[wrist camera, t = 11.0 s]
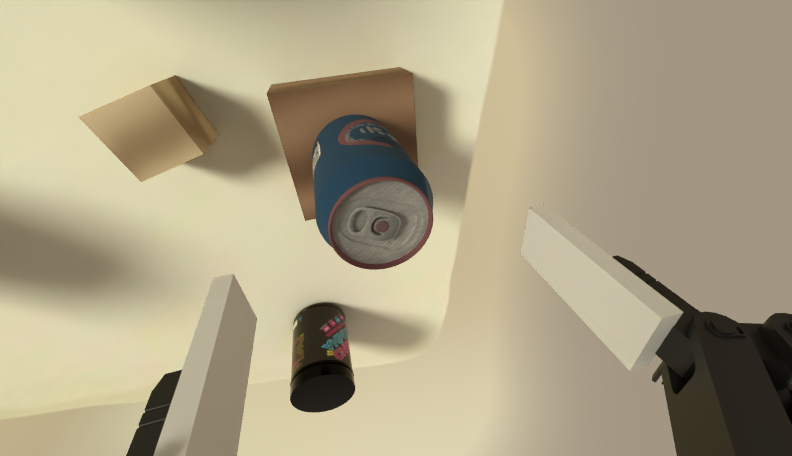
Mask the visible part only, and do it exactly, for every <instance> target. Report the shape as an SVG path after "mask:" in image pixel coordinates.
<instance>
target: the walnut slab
mask: <svg viewBox="0 0 792 456" xmlns="http://www.w3.org/2000/svg"><path fill="white" fill-rule="evenodd" d="M267 96H268V100H269V103H270V106H271V110H272V113H273V116H274V119H275V123H276V126H277V129H278V133H279V136H280V139H281V142H282V146H283V149H284V152H285V156H286V159H287V162H288V165H289V169H290V172H291V175H292V179H293V182H294V185H295V188H296V192H297V195H298V198H299V202H300V205H301V208H302V211H303V215H304V218H305V221H306V220H311V219H316V214H315V198H314V182H313V166H312V150H313V146H314V143H315V140H316V138H317V136H318V135H319V133H320V132H321V130H322V129H323V128H324V127H325V126H326V125H327V124H329V123H330V122H332V121H333V120H335V119H337V118H339V117H342V116H346V115H353V114H358V115H365V116H369V117H372V118H374V119H376V120H378V121H379V122H381V123H382V124H383V125H385V126H386V127H387V128H388V130H389V131H390V132H391V133H392V135H393V136H394V137H395V139H396V140H397V141H398V142H399V144H400V145H401V146H402V148H403V149H404V150H405V151H406V153H407V154H408V155H409V156H410V158H411V159H412V160H413V162H414V163H415V164H416V165H417V167H418V160H417V142H416V124H415V106H414V88H413V73H411V72H409V71H407V70H405V69H403V68H400V67H398V68H391V69H383V70H376V71H369V72H361V73H354V74H347V75H339V76H332V77H325V78H318V79H310V80H303V81H296V82H288V83H281V84H274V85H271V87H270V88H269V90H268V92H267Z"/></svg>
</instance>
